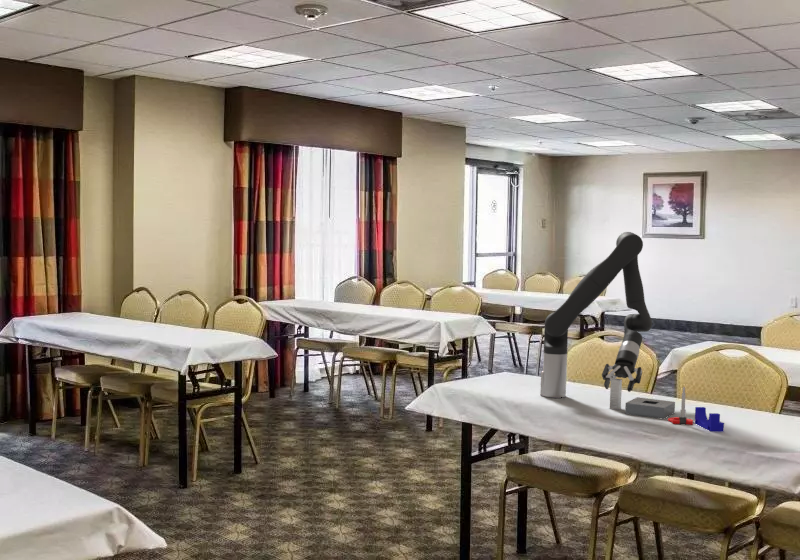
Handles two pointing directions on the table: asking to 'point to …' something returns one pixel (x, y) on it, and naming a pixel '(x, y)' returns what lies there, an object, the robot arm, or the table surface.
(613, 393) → the light grey tall block
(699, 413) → the cable clip
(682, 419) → the red grey spiked stand
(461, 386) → the table surface
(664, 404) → the gray square socket block
